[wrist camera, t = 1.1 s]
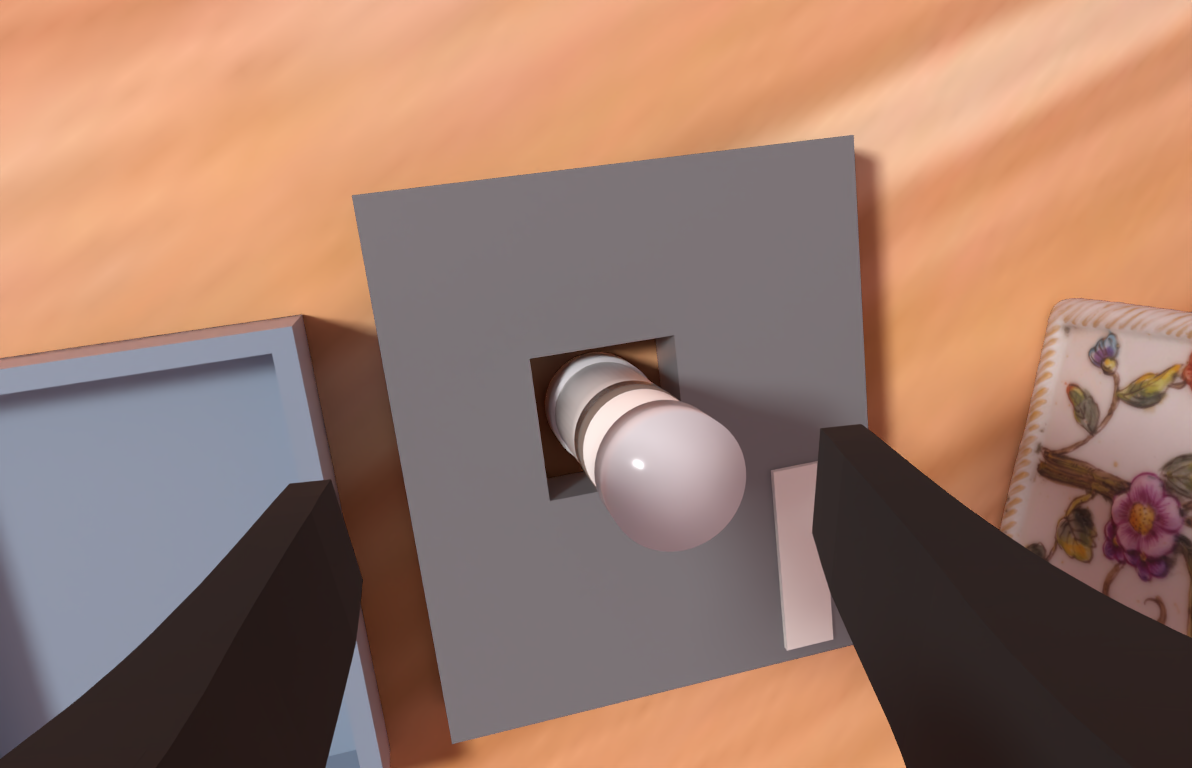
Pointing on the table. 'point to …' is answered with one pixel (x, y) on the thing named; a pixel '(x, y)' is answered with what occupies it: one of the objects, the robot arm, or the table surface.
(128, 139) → the table surface
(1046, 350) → the decorative jar
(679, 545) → the white light bulb
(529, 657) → the light bulb socket board
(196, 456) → the tray
